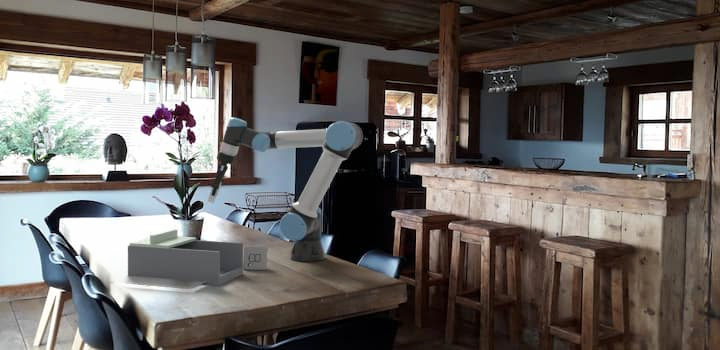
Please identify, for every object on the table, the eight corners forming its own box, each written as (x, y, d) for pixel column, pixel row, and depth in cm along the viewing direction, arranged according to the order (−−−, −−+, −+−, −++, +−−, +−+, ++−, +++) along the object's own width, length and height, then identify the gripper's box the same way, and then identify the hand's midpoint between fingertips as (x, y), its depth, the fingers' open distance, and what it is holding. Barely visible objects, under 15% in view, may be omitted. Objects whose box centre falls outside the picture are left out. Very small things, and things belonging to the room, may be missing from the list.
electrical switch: (242, 270, 235) (243, 246, 235) (245, 268, 240) (245, 245, 240) (266, 270, 235) (266, 247, 235) (268, 269, 240) (268, 246, 240)
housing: (242, 274, 227) (243, 243, 226) (218, 285, 208) (218, 251, 207) (158, 267, 235) (158, 237, 235) (127, 278, 216) (127, 245, 216)
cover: (196, 240, 231) (196, 230, 231) (168, 248, 212) (168, 237, 212) (160, 237, 235) (160, 227, 234) (129, 245, 216) (129, 235, 215)
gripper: (221, 146, 265) (207, 189, 267) (216, 154, 240) (200, 202, 243) (238, 151, 266) (223, 194, 269) (234, 160, 242) (218, 208, 245)
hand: (212, 198), depth 256 cm, fingers open, 13 cm apart
